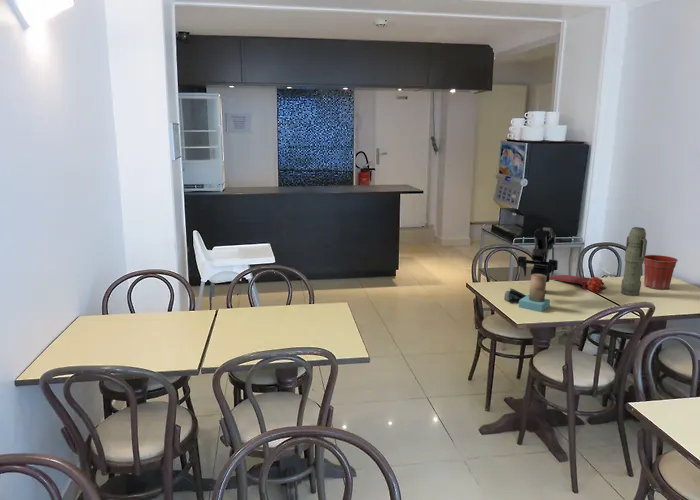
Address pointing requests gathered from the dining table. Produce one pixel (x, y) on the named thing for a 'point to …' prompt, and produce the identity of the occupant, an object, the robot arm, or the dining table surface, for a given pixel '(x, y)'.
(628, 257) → the thermos
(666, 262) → the flower pot
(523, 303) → the base block
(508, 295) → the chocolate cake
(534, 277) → the brown vase
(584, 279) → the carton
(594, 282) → the dragon fruit
